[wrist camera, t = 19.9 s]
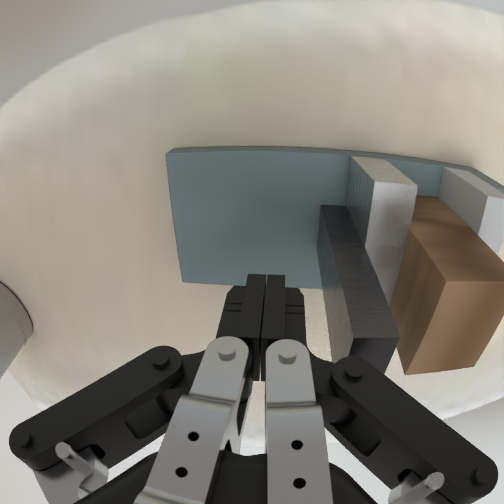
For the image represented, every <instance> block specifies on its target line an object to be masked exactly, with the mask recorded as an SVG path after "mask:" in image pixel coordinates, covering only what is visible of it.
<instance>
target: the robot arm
mask: <svg viewBox="0 0 504 504" xmlns="http://www.w3.org/2000/svg"><path fill="white" fill-rule="evenodd" d="M32 332H33V328H32V323H31V320H30V318H29V316H28V314H27V312H26V310H25V309H24V307H23V306H22V304H21V303H20V302H19V300H18V299H17V298H16V297H15V295H14V294H13V293H12V292H11V291H10V290H9V289H8V288H6V287H5V286H4V285H3V284H1V283H0V379H1V377H2V376H3V374H4V373H5V371H6V370H7V368H8V367H9V365H10V364H11V362H12V361H13V360H14V358H15V357H16V355H17V354H18V352H19V351H20V350H21V348H22V347H23V345H25V343H26V341H27V340H28V339H29V337H30V336H31V334H32ZM260 368H261V381H265V454H258V455H252V456H243V455H240V444H241V438H242V434H243V429H244V425H245V420H246V416H247V411H248V407H249V402H250V395H251V392H252V385H253V381H259V378H260ZM324 427H325V428H326V429H327V430H328V431H329V432H330V433H331V434H332V435H333V436H334V437H335V438H336V439H337V440H338V441H339V442H340V443H341V444H342V445H343V446H345V448H346V449H347V450H349V451H350V452H351V453H352V454H353V455H354V456H355V457H356V458H357V459H358V460H359V461H360V462H361V463H362V464H363V465H365V466H366V467H367V468H368V469H369V470H370V471H371V472H372V473H373V474H374V475H375V476H376V477H378V478H379V479H380V480H381V481H382V482H383V483H384V484H385V485H386V486H388V487H389V488H390V489H391V490H392V491H391V492H390V495H389V499H388V502H389V504H471V503H473V502H475V501H477V500H479V499H480V498H482V497H484V496H485V495H487V494H489V493H490V492H491V491H492V490H493V489H494V487H495V485H496V483H497V480H498V470H497V466H496V464H495V463H494V461H493V460H491V459H490V458H489V457H488V456H486V455H485V454H484V453H483V452H481V451H480V450H479V449H477V448H476V447H475V446H474V445H472V444H471V443H470V442H469V441H467V440H466V439H465V438H463V437H462V436H461V435H460V434H458V433H457V432H456V431H455V430H453V429H452V428H451V427H449V426H448V425H447V424H446V423H444V422H443V421H442V420H441V419H439V418H438V417H437V416H435V415H434V414H433V413H432V412H430V411H429V410H428V409H427V408H425V407H424V406H423V405H422V404H420V403H419V402H418V401H417V400H415V399H414V398H413V397H411V396H410V395H409V394H408V393H406V392H405V391H404V390H403V389H401V388H400V387H399V386H398V385H396V384H395V383H394V382H393V381H391V380H390V379H389V378H388V377H386V376H385V375H384V374H383V373H381V372H380V371H379V370H378V369H377V368H375V367H374V366H373V365H372V364H370V363H369V362H368V361H366V360H365V359H363V358H360V357H355V356H349V357H344V358H342V359H340V360H338V361H337V362H336V363H333V362H329V361H325V360H322V359H320V358H318V357H316V356H315V355H313V354H312V353H311V352H310V350H309V349H308V347H307V343H306V326H305V309H304V296H303V294H302V293H301V291H300V290H299V289H298V288H290V287H285V275H273V274H267V283H266V274H248V276H247V281H246V286H236V285H234V287H233V288H232V289H231V290H230V291H229V292H228V293H227V296H226V300H225V304H224V308H223V312H222V316H221V320H220V323H219V327H218V331H217V335H216V339H215V340H213V341H212V342H211V343H209V345H208V346H207V348H206V350H204V351H202V352H199V353H195V354H189V355H182V356H181V354H180V353H179V352H178V350H176V349H175V348H173V347H170V346H158V347H154V348H152V349H150V350H148V351H146V352H145V353H143V354H141V355H140V356H138V357H136V358H135V359H133V360H131V361H130V362H128V363H126V364H125V365H123V366H121V367H119V368H118V369H116V370H114V371H113V372H111V373H109V374H107V375H106V376H104V377H102V378H101V379H99V380H97V381H95V382H94V383H92V384H90V385H88V386H87V387H85V388H83V389H81V390H80V391H78V392H76V393H74V394H73V395H71V396H69V397H67V398H66V399H64V400H62V401H60V402H58V403H57V404H55V405H53V406H51V407H49V408H48V409H46V410H44V411H42V412H40V413H39V414H37V415H35V416H33V417H31V418H29V419H27V420H26V421H24V422H22V423H20V424H18V425H17V426H16V427H15V428H14V429H13V430H12V432H11V434H10V437H9V446H10V449H11V451H12V453H13V454H14V455H15V456H16V457H18V458H19V459H20V460H21V461H23V462H24V463H25V464H27V466H28V467H29V468H31V469H32V470H33V472H34V474H35V476H36V478H37V481H38V483H39V485H40V487H41V489H42V491H43V492H44V495H45V497H46V499H47V501H48V503H49V504H377V502H375V501H374V500H373V499H372V498H371V497H370V496H369V495H368V494H367V493H366V492H365V491H364V490H363V489H362V488H361V486H359V484H357V482H355V481H354V479H353V478H352V477H351V476H350V475H349V474H348V473H346V472H345V471H344V470H343V469H341V468H339V467H338V466H336V465H334V464H332V463H329V462H328V453H327V446H326V438H325V430H324ZM164 433H166V434H165V436H164V439H163V441H162V444H161V447H160V449H159V451H158V452H155V453H153V454H151V455H149V456H147V457H145V458H144V459H142V460H141V461H139V462H138V463H136V464H135V465H133V466H132V467H131V468H129V469H127V470H126V471H125V472H123V473H122V474H120V475H119V476H117V477H115V478H114V479H113V480H111V481H109V482H108V483H107V479H108V469H109V468H111V467H113V466H114V465H116V464H118V463H119V462H121V461H122V460H124V459H126V458H127V457H129V456H131V455H132V454H134V453H135V452H137V451H138V450H140V449H142V448H143V447H145V446H146V445H148V444H149V443H151V442H152V441H154V440H155V439H157V438H158V437H160V436H161V435H163V434H164Z"/></svg>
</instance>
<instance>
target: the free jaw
mask: <svg viewBox="0 0 504 504" xmlns="http://www.w3.org/2000/svg"><path fill="white" fill-rule="evenodd" d="M417 188H418V186H417V185H416V184H415V183H414V182H412V181H411V180H410V179H409V178H408V177H406V176H405V175H404V174H403V173H402V172H400V171H399V170H398V169H397V168H395V167H394V166H393V165H391V164H390V163H389V162H388V161H386V160H385V159H378V158H368V157H357V156H351V160H350V172H349V183H348V193H347V203H346V207H345V206H326V205H321V207H320V220H319V231H318V242H317V256H318V263H319V269H320V275H321V281H322V288H323V295H324V302H325V309H326V316H327V324H328V331H329V339H330V348H331V356H332V362H333V363H336V362H337V361H338V360H340V359H342V358H344V357H349V356H355V357H360V358H363V359H365V360H366V361H368V362H369V363H370V364H372V365H373V366H374V367H375V368H377V369H378V370H379V371H380V372H381V373H383V374H384V373H385V371H386V369H387V367H388V364H389V362H390V360H391V358H392V355H393V353H394V351H395V348H396V346H397V343H398V341H399V339H400V335H399V332H398V329H397V327H396V324H395V321H394V318H393V316H392V313H391V310H390V308H389V305H390V302H391V299H392V296H393V292H394V289H395V285H396V282H397V278H398V275H399V271H400V267H401V263H402V259H403V255H404V251H405V247H406V243H407V239H408V234H409V230H410V225H411V220H412V215H413V210H414V205H415V200H416V194H417Z"/></svg>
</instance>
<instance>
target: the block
mask: <svg viewBox="0 0 504 504" xmlns="http://www.w3.org/2000/svg"><path fill="white" fill-rule="evenodd" d="M389 308H390V310H391V313H392V316H393V318H394V321H395V324H396V327H397V329H398V332H399V335H400V339H399V341H398V343H397V346H396V347H397V350H398V354H399V357H400V360H401V364H402V367H403V371H404V374H405V375H412V374H423V373H432V372H440V371H448V370H455V369H462V368H468V367H474V365H475V364H476V362H477V361H478V359H479V358H480V356H481V354H482V353H483V351H484V349H485V348H486V346H487V344H488V343H489V341H490V339H491V338H492V336H493V334H494V332H495V330H496V329H497V327H498V325H499V323H500V321H501V319H502V317H503V315H504V262H503V261H502V260H501V259H500V258H499V257H498V256H497V255H496V253H495V252H494V251H493V250H492V249H491V248H490V247H489V246H488V245H487V244H486V243H485V242H484V241H483V240H482V239H481V238H480V237H479V236H478V235H477V234H476V233H475V232H474V231H473V230H472V229H471V228H470V227H469V226H468V225H467V224H466V223H465V222H464V221H463V220H462V219H461V218H460V217H459V216H457V215H456V214H455V213H454V212H453V211H452V210H451V209H450V208H449V207H448V206H446V205H445V204H444V203H443V202H442V201H441V200H440V199H439V198H437V197H429V196H421V195H416V200H415V205H414V210H413V215H412V220H411V225H410V230H409V234H408V239H407V243H406V247H405V251H404V255H403V259H402V263H401V267H400V271H399V275H398V278H397V282H396V285H395V289H394V292H393V296H392V299H391V302H390V305H389Z"/></svg>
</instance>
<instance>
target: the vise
mask: <svg viewBox="0 0 504 504" xmlns="http://www.w3.org/2000/svg"><path fill="white" fill-rule="evenodd" d="M351 156H357V157H368V158H378V159H385V160H386V161H388V162H389V163H390V164H391V165H393V166H394V167H395V168H397V169H398V170H399V171H400V172H402V173H403V174H404V175H405V176H406V177H408V178H409V179H410V180H411V181H412V182H414V183H415V184H416V185H417V186H418V188H417V194H416V195H421V196H429V197H437V198H439V199H440V200H441V201H442V202H443V203H444V204H445V205H446V206H448V207H449V208H450V209H451V210H452V211H453V212H454V213H455V214H456V215H457V216H459V217H460V218H461V219H462V220H463V221H464V222H465V223H466V224H467V225H468V226H469V227H470V228H471V229H472V230H473V231H474V232H475V233H476V234H477V235H478V236H479V237H480V238H481V239H482V240H483V241H484V242H485V243H486V244H487V245H488V246H489V247H490V248H491V249H492V250H493V251H494V252H495V253H496V255H497V256H498V253H499V250H500V247H501V244H502V241H503V238H504V186H503V185H501V184H499V183H498V182H496V181H495V180H493V179H491V178H490V177H488V176H486V175H485V174H483V173H481V172H480V171H478V170H476V169H474V168H471V167H466V166H461V165H456V164H450V163H444V162H439V161H433V160H426V159H420V158H413V157H406V156H398V155H390V154H381V153H372V152H362V151H351V150H338V149H323V148H305V147H275V146H223V147H193V148H175V149H172V150H171V151H169V152H168V153H166V162H167V172H168V181H169V190H170V199H171V207H172V215H173V222H174V230H175V237H176V243H177V250H178V257H179V263H180V269H181V275H182V281H183V282H186V283H202V284H220V285H240V286H246V281H247V276H248V274H266V283H267V274H273V275H285V287H290V288H319V289H323V288H322V281H321V275H320V269H319V263H318V256H317V242H318V231H319V220H320V207H321V205H326V206H345V207H346V203H347V193H348V183H349V172H350V160H351Z"/></svg>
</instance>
